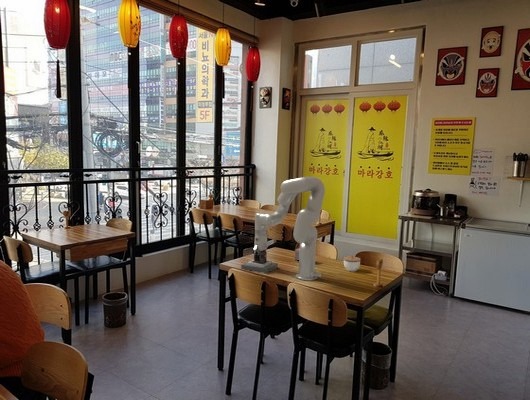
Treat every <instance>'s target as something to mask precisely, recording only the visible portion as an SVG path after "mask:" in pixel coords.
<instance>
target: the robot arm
mask: <svg viewBox="0 0 530 400" xmlns="http://www.w3.org/2000/svg"><path fill="white" fill-rule="evenodd" d="M280 191H281V192H280V194H279V195H278V197H277V199H276V200H277V203H278V204H279V205H278V207H277V208H276V210H275V211H274V212H272V213H265V212H256V213H255V214H254V244H253V245H254V246H253V256H254V255H255V261H259V260H260V255H259V253H260V251H265V252H267V249H268V235H267V233H268V232H267V231H268V227H273V226H277V225H279V224H281V223H282V221H283V220H284V219H285V217H286V215H287V214H288V212H289V210H290V209H289V208H290V205H291V203H293V201H294V199H295V198H296V197H297V195H299V194H301V193H308V192H309V193H310V195H309V197H308V199H307V204H306V207H305V208H301V209H300V210H299V212H298V213H297V216H296V220H295V223H294V227H293V228H294V229H293V234H292V235H293V239H294V240H295V241H296V243H298V244H299V248H300V249H299V261H298V273H296V274H295V278H296V279H298V280H302V281H315V280H317V279H318V278H321V277H322V274H321V272H317V270H316V252H317V251H316V250H317V249H316V248H317V240H318V229H317V228H316V226H314V225H313V224H316V223H317V222H319V219H320V216H321V212H322V206H323V202H324V198H325V194H326V188H325V185H324V183H323V181H322V180H321V179H320V178H319V177H316V176H302V177H298V178H296V177H295V178H293V179H286V180H284V181H283V182H282V183H281V184H280ZM257 251H258V252H257Z"/></svg>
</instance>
